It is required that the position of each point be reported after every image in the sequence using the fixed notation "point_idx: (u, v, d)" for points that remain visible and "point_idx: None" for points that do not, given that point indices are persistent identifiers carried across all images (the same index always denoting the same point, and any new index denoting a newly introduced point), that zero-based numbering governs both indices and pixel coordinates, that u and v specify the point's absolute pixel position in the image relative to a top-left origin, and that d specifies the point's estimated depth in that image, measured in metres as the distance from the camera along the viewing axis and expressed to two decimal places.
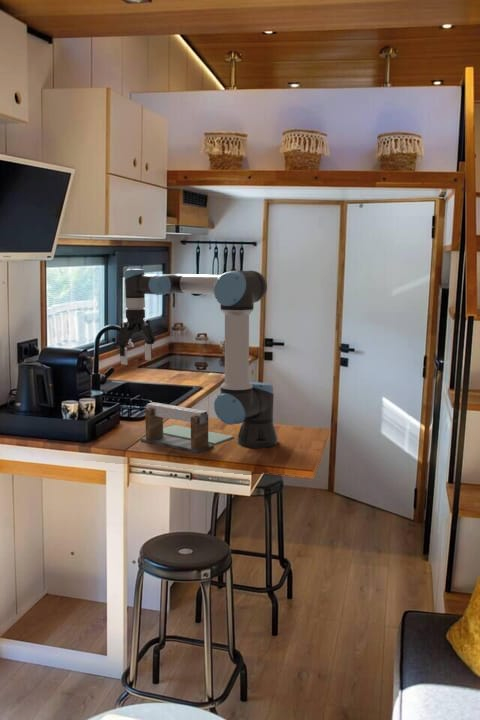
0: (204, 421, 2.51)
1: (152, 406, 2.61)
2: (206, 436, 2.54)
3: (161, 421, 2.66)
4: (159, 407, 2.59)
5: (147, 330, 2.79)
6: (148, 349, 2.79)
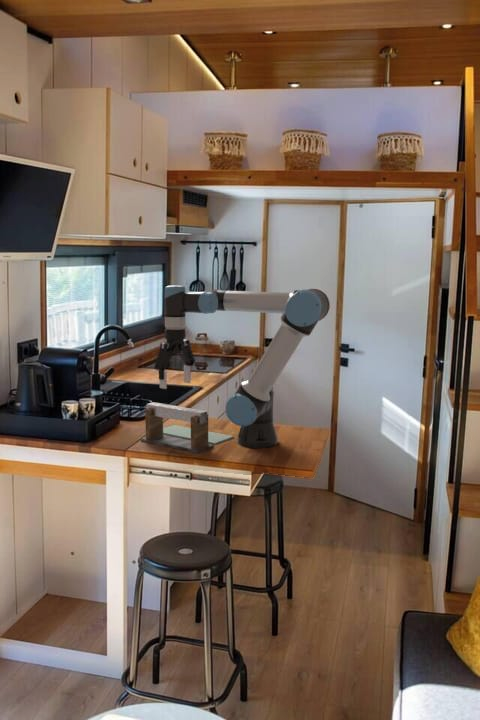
0: (204, 421, 2.51)
1: (152, 406, 2.61)
2: (206, 436, 2.54)
3: (161, 421, 2.66)
4: (159, 407, 2.59)
5: (187, 351, 2.60)
6: (187, 371, 2.60)
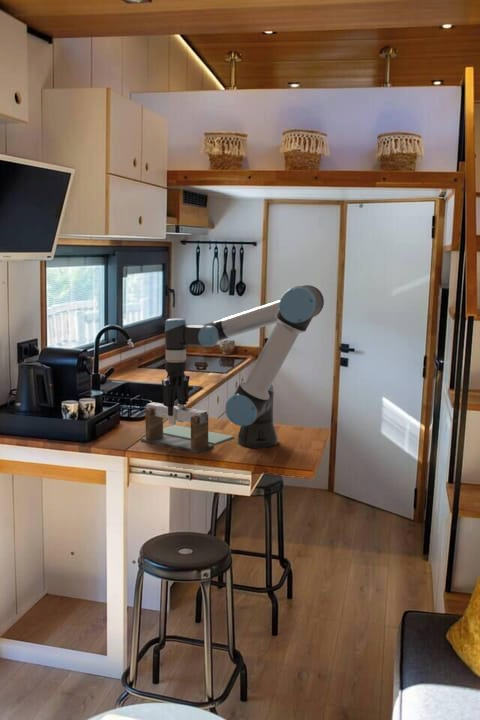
0: (204, 421, 2.51)
1: (152, 406, 2.61)
2: (206, 436, 2.54)
3: (161, 421, 2.66)
4: (159, 407, 2.59)
5: (184, 387, 2.60)
6: None
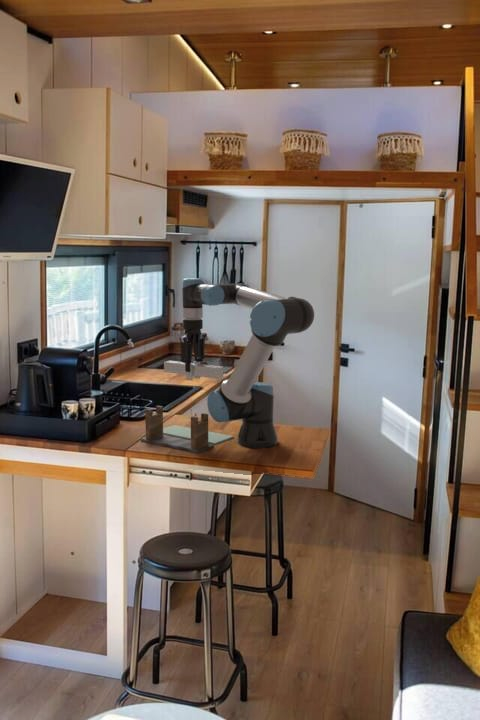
0: (220, 376, 2.61)
1: (169, 363, 2.72)
2: (206, 436, 2.54)
3: (161, 421, 2.66)
4: (176, 364, 2.70)
5: (200, 345, 2.71)
6: None
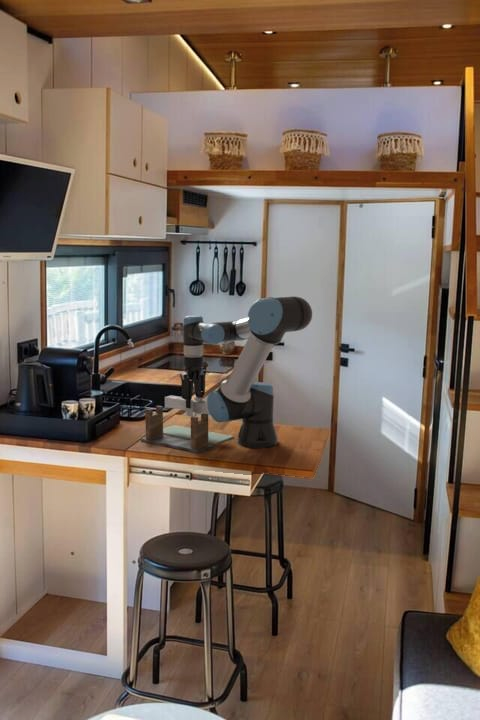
0: None
1: (170, 399, 2.74)
2: (206, 436, 2.54)
3: (161, 421, 2.66)
4: (177, 400, 2.72)
5: (200, 380, 2.73)
6: None
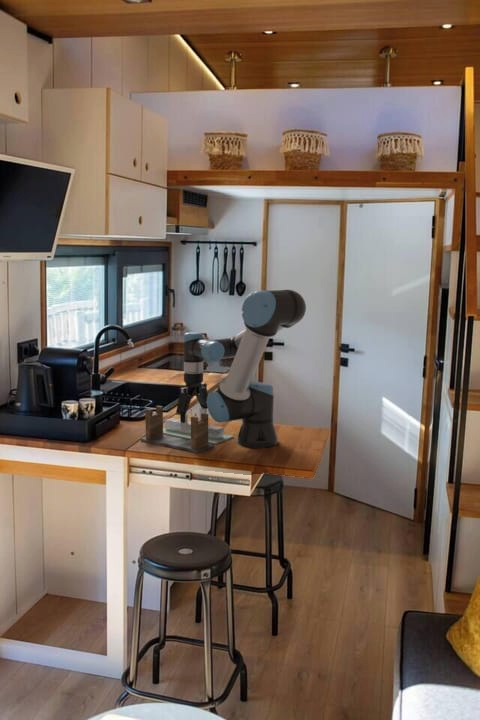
0: (220, 437, 2.65)
1: (170, 422, 2.76)
2: (206, 436, 2.54)
3: (161, 421, 2.66)
4: (177, 423, 2.74)
5: (203, 393, 2.75)
6: None
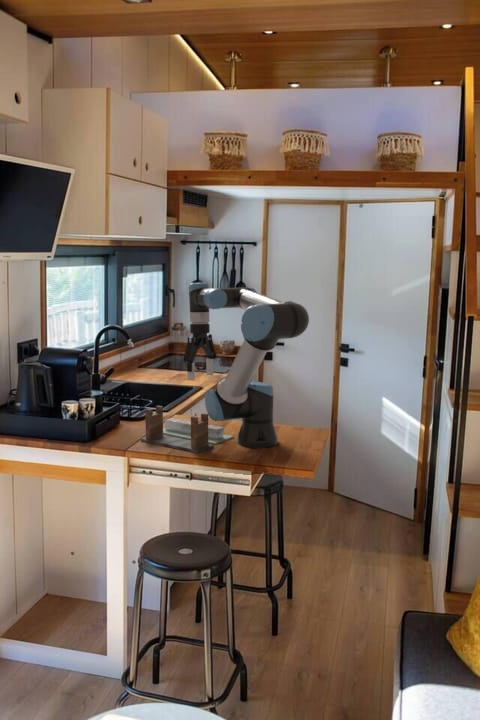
0: (220, 437, 2.65)
1: (170, 422, 2.76)
2: (206, 436, 2.54)
3: (161, 421, 2.66)
4: (177, 423, 2.74)
5: (209, 345, 2.74)
6: (210, 364, 2.74)
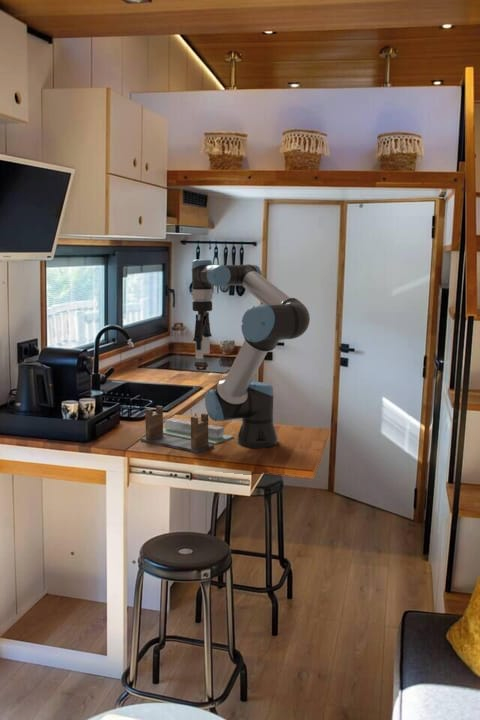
0: (220, 437, 2.65)
1: (170, 422, 2.76)
2: (206, 436, 2.54)
3: (161, 421, 2.66)
4: (177, 423, 2.74)
5: None
6: (207, 342, 2.72)
